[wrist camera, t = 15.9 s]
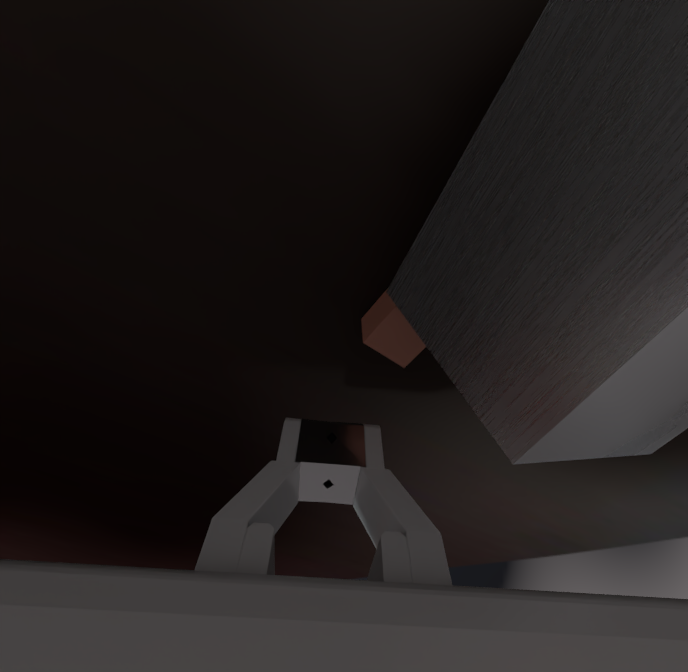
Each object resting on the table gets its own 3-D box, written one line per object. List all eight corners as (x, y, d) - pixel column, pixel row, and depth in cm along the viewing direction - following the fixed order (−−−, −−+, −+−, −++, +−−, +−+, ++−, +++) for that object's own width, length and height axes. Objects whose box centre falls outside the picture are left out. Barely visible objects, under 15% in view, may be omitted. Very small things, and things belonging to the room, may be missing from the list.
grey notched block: (507, 321, 11) (650, 454, 8) (385, 291, 9) (513, 464, 5) (747, 27, 7) (1265, 21, 4) (645, -172, 5) (1819, -709, 1)
